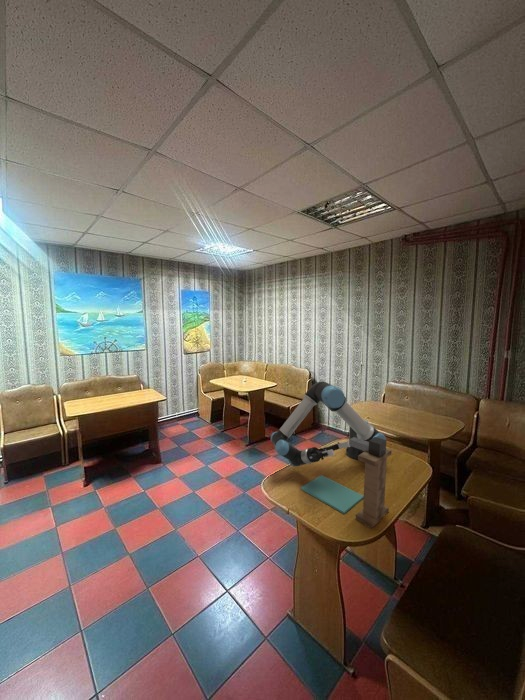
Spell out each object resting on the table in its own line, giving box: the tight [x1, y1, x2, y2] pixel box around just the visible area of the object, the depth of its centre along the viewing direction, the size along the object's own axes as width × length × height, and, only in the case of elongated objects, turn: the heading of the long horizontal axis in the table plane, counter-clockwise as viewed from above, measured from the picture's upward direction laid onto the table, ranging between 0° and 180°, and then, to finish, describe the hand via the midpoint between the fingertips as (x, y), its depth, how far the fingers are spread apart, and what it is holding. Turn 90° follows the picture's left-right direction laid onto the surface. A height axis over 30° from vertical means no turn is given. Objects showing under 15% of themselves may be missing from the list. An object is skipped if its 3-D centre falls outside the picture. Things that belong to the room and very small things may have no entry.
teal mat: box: [300, 474, 364, 515], centre depth 147 cm, size 18×26×1 cm
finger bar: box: [348, 437, 387, 458], centre depth 130 cm, size 6×15×6 cm, turn 42°
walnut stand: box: [355, 447, 393, 529], centre depth 129 cm, size 16×8×30 cm, turn 132°
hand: (341, 447), depth 140 cm, fingers open, 13 cm apart
